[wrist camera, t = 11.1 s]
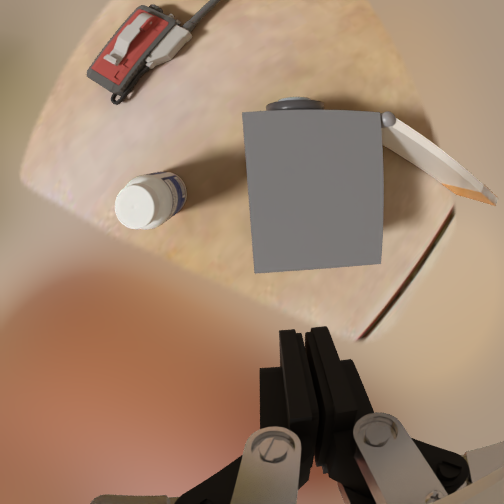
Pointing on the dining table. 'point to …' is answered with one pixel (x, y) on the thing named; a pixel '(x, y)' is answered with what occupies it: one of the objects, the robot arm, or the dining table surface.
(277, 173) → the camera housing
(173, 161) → the dining table surface
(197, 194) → the dining table surface
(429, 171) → the side door
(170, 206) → the pill bottle
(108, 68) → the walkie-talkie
